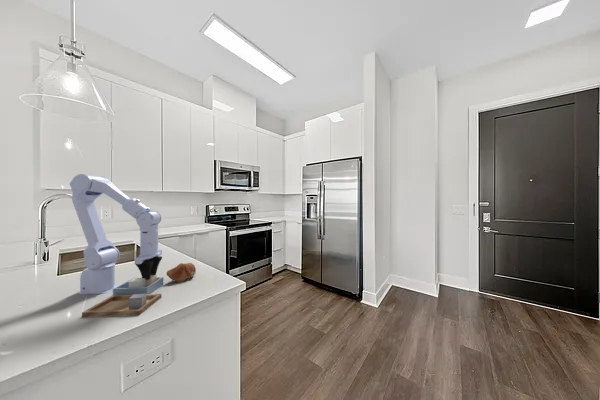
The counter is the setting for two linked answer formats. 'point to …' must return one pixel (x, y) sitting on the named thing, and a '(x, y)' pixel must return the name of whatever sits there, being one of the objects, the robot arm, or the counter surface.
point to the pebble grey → (137, 283)
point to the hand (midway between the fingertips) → (149, 277)
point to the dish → (125, 289)
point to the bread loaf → (182, 272)
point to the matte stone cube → (137, 301)
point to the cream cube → (150, 280)
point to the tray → (119, 306)
